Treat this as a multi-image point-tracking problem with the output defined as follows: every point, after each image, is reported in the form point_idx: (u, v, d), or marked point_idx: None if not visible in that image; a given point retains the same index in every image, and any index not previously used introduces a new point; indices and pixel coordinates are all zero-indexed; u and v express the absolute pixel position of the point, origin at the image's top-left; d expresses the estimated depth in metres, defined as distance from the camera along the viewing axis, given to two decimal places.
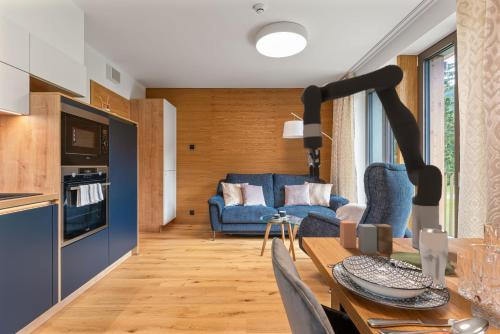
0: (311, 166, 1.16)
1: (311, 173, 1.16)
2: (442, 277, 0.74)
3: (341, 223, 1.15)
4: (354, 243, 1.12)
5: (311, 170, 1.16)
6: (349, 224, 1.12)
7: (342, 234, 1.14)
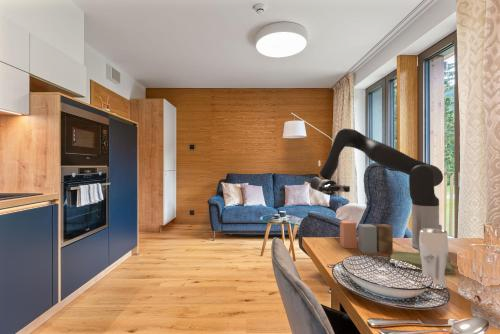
0: (344, 189, 1.31)
1: (345, 190, 1.28)
2: (442, 277, 0.74)
3: (341, 223, 1.15)
4: (354, 243, 1.12)
5: (344, 190, 1.29)
6: (349, 224, 1.12)
7: (342, 234, 1.14)
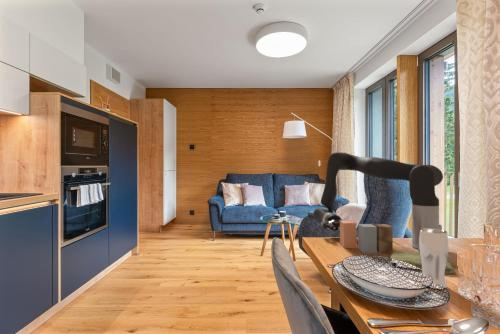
0: None
1: None
2: (442, 277, 0.74)
3: (341, 223, 1.15)
4: (354, 243, 1.12)
5: None
6: (349, 224, 1.12)
7: (342, 234, 1.14)
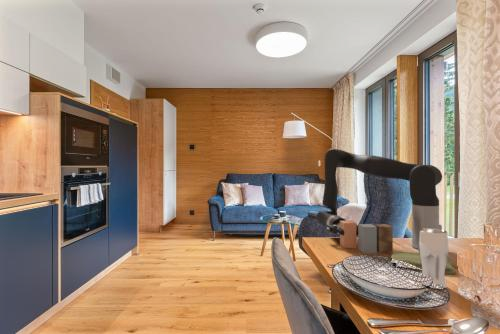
0: None
1: None
2: (442, 277, 0.74)
3: (341, 223, 1.15)
4: (354, 243, 1.12)
5: None
6: (349, 224, 1.12)
7: None
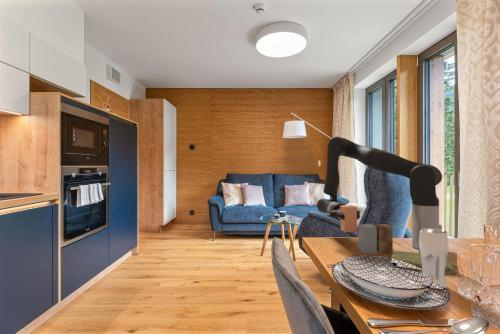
0: None
1: None
2: (442, 277, 0.74)
3: (341, 207, 1.15)
4: (355, 227, 1.12)
5: None
6: (349, 208, 1.12)
7: None
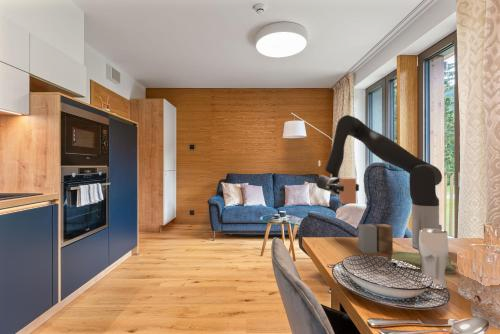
0: None
1: None
2: (442, 277, 0.74)
3: (341, 180, 1.15)
4: (353, 199, 1.13)
5: None
6: (349, 180, 1.12)
7: None
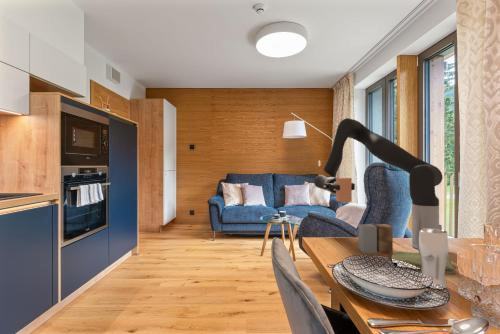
0: None
1: None
2: (442, 277, 0.74)
3: (337, 179, 1.20)
4: (349, 197, 1.17)
5: None
6: (345, 179, 1.17)
7: None
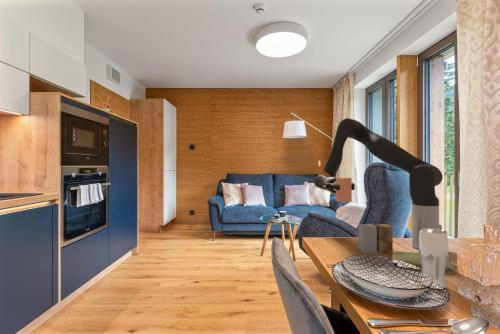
0: None
1: None
2: (442, 277, 0.74)
3: (337, 179, 1.20)
4: (349, 197, 1.17)
5: None
6: (345, 179, 1.17)
7: None
